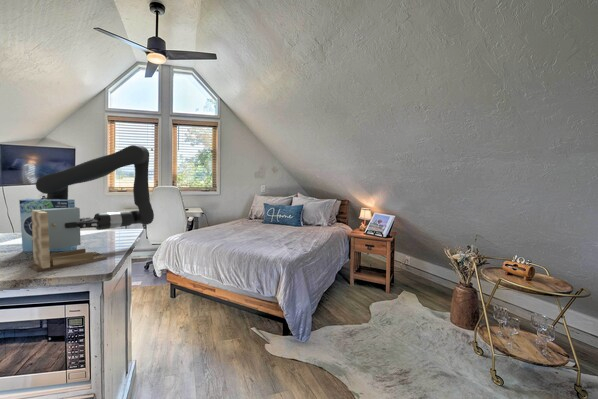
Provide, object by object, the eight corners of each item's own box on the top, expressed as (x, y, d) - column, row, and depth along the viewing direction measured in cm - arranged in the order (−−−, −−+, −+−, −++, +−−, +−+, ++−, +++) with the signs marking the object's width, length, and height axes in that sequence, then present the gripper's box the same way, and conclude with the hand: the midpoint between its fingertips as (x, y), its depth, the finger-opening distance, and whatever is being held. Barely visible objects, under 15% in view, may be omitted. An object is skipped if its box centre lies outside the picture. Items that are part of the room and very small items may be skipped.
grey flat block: (42, 248, 122) (40, 209, 120) (76, 243, 131) (75, 207, 130) (46, 250, 119) (44, 210, 117) (81, 245, 128) (80, 208, 127)
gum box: (77, 249, 137) (75, 199, 135) (70, 252, 132) (68, 200, 130) (30, 249, 135) (27, 198, 133) (21, 252, 130) (18, 199, 128)
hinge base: (29, 265, 113) (26, 210, 111) (95, 254, 131) (94, 206, 129) (38, 272, 106) (35, 213, 105) (106, 258, 124) (105, 208, 122)
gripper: (101, 210, 143) (56, 214, 129) (115, 214, 135) (69, 218, 121) (101, 226, 143) (57, 231, 129) (115, 230, 135) (69, 236, 121)
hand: (63, 225), depth 125 cm, fingers closed on grey flat block, 4 cm apart
